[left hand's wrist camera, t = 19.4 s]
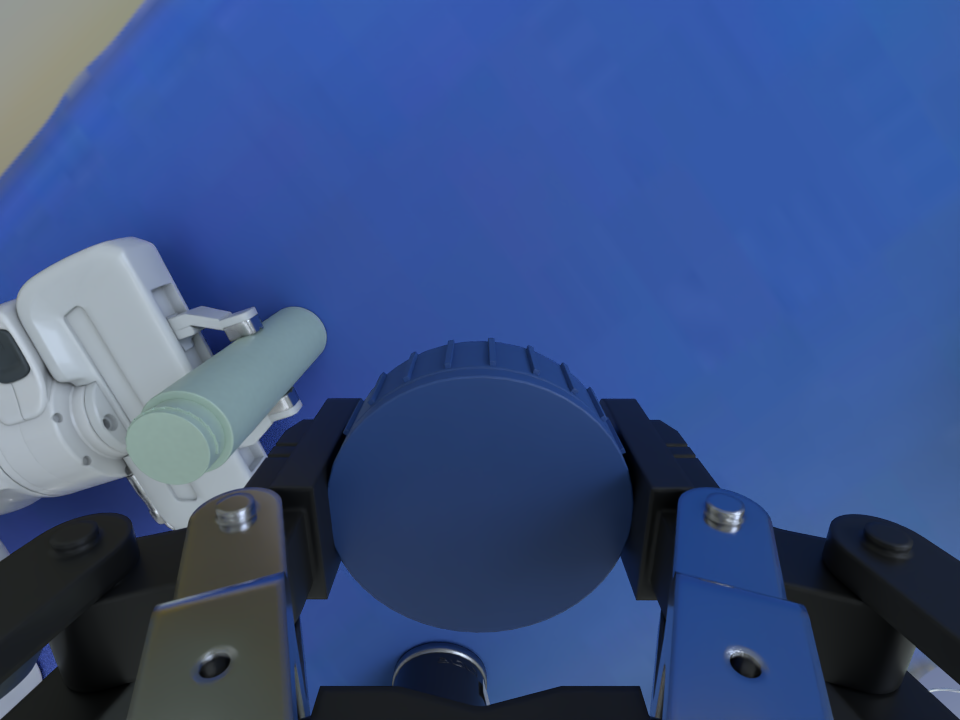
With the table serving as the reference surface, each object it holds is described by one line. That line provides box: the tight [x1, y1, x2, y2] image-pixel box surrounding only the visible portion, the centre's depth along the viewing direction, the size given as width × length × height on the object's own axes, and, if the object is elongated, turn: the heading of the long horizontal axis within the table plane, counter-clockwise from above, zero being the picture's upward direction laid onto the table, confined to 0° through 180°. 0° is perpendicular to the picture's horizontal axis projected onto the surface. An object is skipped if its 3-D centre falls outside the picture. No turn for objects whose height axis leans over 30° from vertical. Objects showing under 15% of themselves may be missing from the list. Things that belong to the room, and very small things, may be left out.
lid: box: [328, 338, 634, 632], centre depth 10 cm, size 6×6×2 cm
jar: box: [125, 307, 327, 485], centre depth 32 cm, size 4×4×18 cm
